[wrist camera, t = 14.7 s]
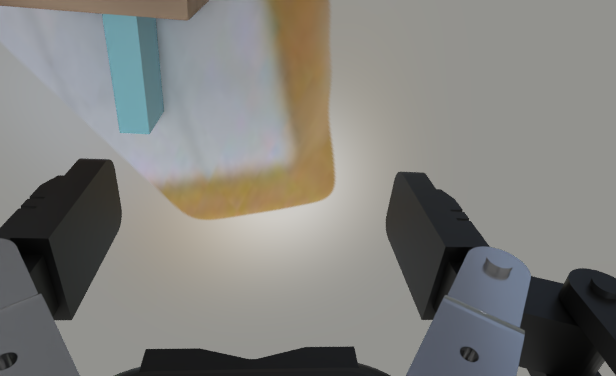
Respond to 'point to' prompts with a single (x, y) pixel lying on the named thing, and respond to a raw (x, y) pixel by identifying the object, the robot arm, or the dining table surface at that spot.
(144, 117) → the panel
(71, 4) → the walnut shelf
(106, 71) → the dining table surface
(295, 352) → the robot arm
